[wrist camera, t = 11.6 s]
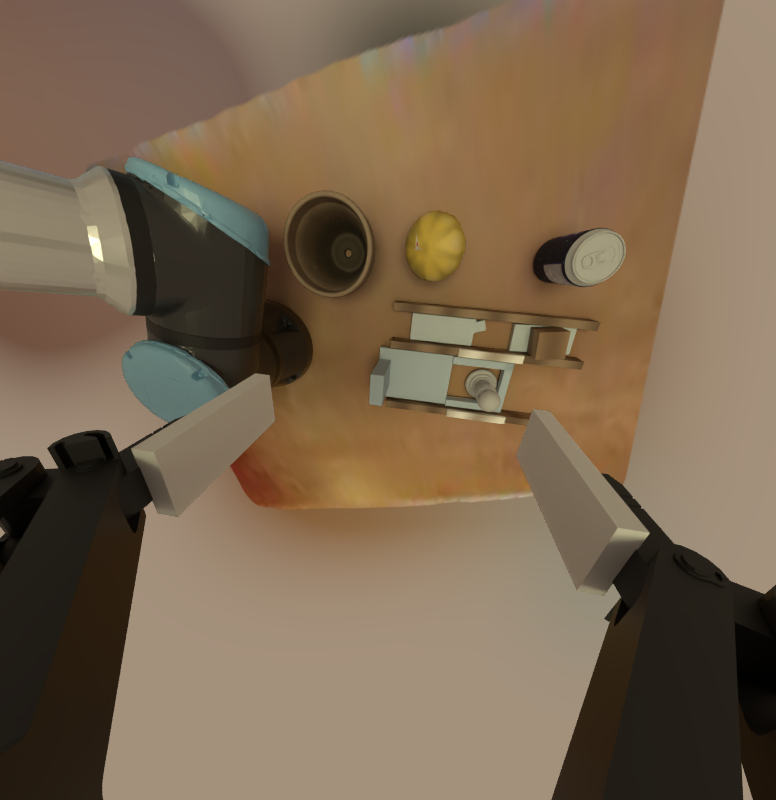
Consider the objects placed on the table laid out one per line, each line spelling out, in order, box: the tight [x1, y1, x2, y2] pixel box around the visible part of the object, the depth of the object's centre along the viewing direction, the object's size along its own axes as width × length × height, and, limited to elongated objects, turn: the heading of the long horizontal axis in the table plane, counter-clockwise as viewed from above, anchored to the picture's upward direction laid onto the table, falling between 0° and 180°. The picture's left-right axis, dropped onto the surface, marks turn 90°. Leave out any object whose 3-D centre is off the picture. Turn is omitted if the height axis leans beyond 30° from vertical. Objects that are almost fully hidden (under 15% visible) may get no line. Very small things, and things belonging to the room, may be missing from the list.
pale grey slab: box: [369, 346, 514, 413], centre depth 45 cm, size 22×9×9 cm, turn 85°
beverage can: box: [534, 228, 626, 287], centre depth 34 cm, size 6×6×12 cm
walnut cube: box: [527, 326, 571, 360], centre depth 41 cm, size 4×4×4 cm
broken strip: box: [410, 312, 577, 354], centre depth 44 cm, size 25×5×1 cm, turn 85°
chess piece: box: [465, 369, 501, 412], centre depth 45 cm, size 5×5×9 cm
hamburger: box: [406, 211, 466, 281], centre depth 35 cm, size 8×7×12 cm
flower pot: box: [283, 191, 375, 298], centre depth 38 cm, size 12×11×10 cm
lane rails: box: [386, 301, 600, 425], centre depth 46 cm, size 30×18×3 cm, turn 85°
